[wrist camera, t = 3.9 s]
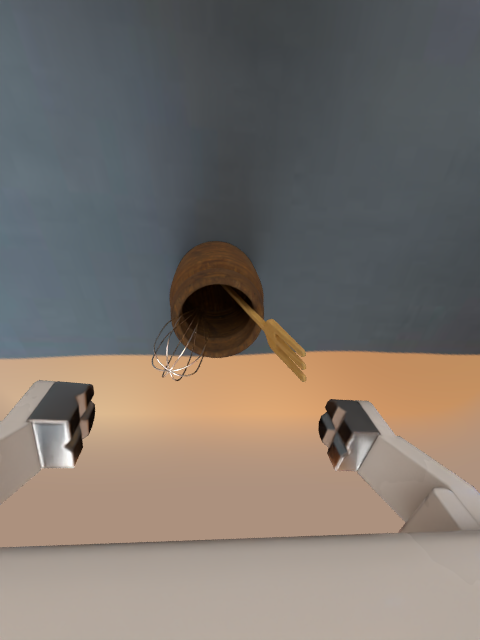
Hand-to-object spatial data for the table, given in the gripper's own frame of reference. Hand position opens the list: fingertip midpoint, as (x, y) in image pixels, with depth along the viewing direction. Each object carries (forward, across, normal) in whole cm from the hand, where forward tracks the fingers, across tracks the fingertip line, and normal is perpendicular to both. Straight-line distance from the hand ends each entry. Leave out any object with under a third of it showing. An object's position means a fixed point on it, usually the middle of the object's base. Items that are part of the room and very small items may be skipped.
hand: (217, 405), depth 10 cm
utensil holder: (+13, 0, 0) cm, 13 cm away
